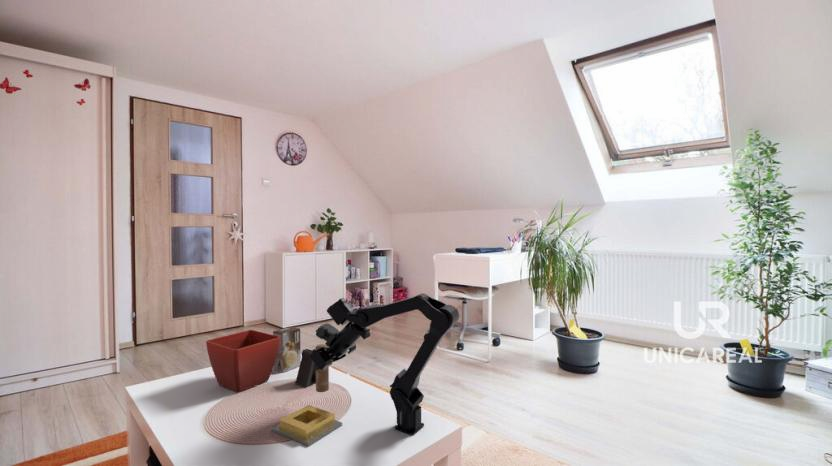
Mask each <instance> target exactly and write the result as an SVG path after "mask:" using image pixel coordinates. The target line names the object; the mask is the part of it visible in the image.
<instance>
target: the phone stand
mask: <svg viewBox="0 0 832 466" xmlns="http://www.w3.org/2000/svg"><path fill="white" fill-rule="evenodd" d="M312 350H313V349H312ZM312 350H311V349H307V348H304V349H302V350H301V363H300V366H299V367H298V372H297V375H296V379H295V383H294V384H295V385H298V386H301V387H304V388H306V387H307V388H308V386H309V387H311V386H314V385H316V371H315V370H314V366H315V363H314V361H313V360H312V359H311V357H310V356H309V353H310V352H311V351H312ZM313 384H314V385H313Z"/></svg>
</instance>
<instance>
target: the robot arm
mask: <svg viewBox="0 0 832 466" xmlns="http://www.w3.org/2000/svg"><path fill="white" fill-rule="evenodd" d="M415 310H417V311H418V312H420V313H422V315H423V316H424V317H425V318H426V319H427V320H429V321H430V323H429V329H428V332H427V334H426V336H425V338H424V340H423V341H422V343H421V346H420V347H419V349H418V350H417V352H416V354H415V355H414V357H413V359H412V361H411V362H410V364H409V365H408V368H407V369H405V368H403V369H402V370H400V372H399V373H397V374H396V375H395V377H394V379H393V382H392V383H391V384H390V385H389V388H390V390H389V396H390V398H391V400H392V401H393V404H394V407H395V411H396V424H397V425H395V426H394V429H395V430H397V431H399V432H402V433H406V434H408V435H412V436H413V435H415V434H416V433H418V431H419V430H421V429H422V428H423V427H424V426H425V423H424V422H422V406H421V405H420V404H421V403H422V402H423V400H424V397H425V395H424V394H423V392H422V391H421V390H420V389H419V388H418V386H419V383H420V377H421V375H422V373H423V371H424V369H425V368H426V367H427V364H428V363H429V361H430V360H431V357H432V356H433V354H434V352H435V351H436V349H437V348H438V347H439V344H440V342H441V341H442V339H443V337H444V336H445V335H447V333H448V332H449V331H450V330H452V328H453V326H455V324H456V323H457V322H458V321H459V318H460V313H459V310H458V308H456V307H455V305H452V304H446V303H445V302H443V301H442V300H438V299H436V298H434V297H431V296H430V295H427V294H426V293H420V294H419V293H418V294H417V295H415V296H412V297H408V298H404V299H401V300H396V301H394V302H390V303H388V304H369V305H367V306H364V307H362V308H357V309H355V310H353V308H352V307H351V306H350V304H349V303H348V302H347V299H346V298H345V297H342V298H341V297H340V298H339V299H338V300H337V301H335V302H334V303H333V304H331V305H329V306H328V308H327V309H326V312H327V314H328V315H329V316H330V318H331V319H332V320H333V321H334V323H335V324H336V325H337V326H340V325H341V326H342V327H343V326H344V327H343V328H342V329H341V330H339V329H338V328H337V327H335V326H334V325H332V324H331V323H327V322H326V323H324V324H321V325H320V326H319V327H317V329H316V330H315V336H316V338H319V339H320V340H323V341H325V344H326V345H327V346H329V347H328V348H326V349H324V347H318V348H316V347H315V348H314V349H312V351H311V352H310V353H309V356H310V357H311V359H312V360H313V361H314V363H315V366H314V370H315V371H316V370H319V369H320V370H323V369H325V368H326V367H328V366H329V367H331V366H332V365H333V363H335V362H337V361H340V360H342V359H344V358H345V357H347V354H348V355H350V354H352V353H354V351H356V349H357V344H356V343H357V341H358V340H359V339H360V338H361V339H363V340H367V339H368V338H370V337H371V328H367V327H370V326H371V325H375V324H376V323H378V322H380V321H383V320H384V319H386V318H390V317H393V316H397V315H401V314H405V313H408V312H412V311H415Z"/></svg>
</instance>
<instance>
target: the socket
mask: <svg viewBox="0 0 832 466" xmlns="http://www.w3.org/2000/svg"><path fill="white" fill-rule="evenodd" d="M342 426H343V422H341V421H338V420H336V414H335V413H334V412H330V411H327V410H325V409H322V408H319V407H315V406H313V405H310V404H308V405H306V406H304V407H302V408H300V409H298V410H296V411H294V412H292V413H290V414H288V415H286V416H284V417H282V418H280V419H279V423H278V424H277V425H275V426H273V427H271V432H274V433H275V434H279V436H280V435H281V436H283V437H285V438H287V439H290V440H292V441H295V442H296V443H299V444H302V445H303V446H305V447H311V446H312V445H314V444H315V443H317V442H318V441H320V440H322V439H323V438H325V437H326V436H328V435H329V434H331V433H333V432H334V431H336V430H337V429H339V428H340V427H342Z"/></svg>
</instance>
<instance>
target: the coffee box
mask: <svg viewBox="0 0 832 466" xmlns="http://www.w3.org/2000/svg"><path fill="white" fill-rule="evenodd" d="M272 332H273V333H272V335H275V336H279V337H280V343H279V348H278V353H277V356H276V360H275V363H274V366H273V370H274V371H277V372H281V373H286V372H288V371H291V370H294V369H296V368H299V367H300V363H301V359H302V351H301V328H300V327H294V326H288V327H285V328H281V329H277V330H276V329H275V330H273V331H272Z"/></svg>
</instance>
